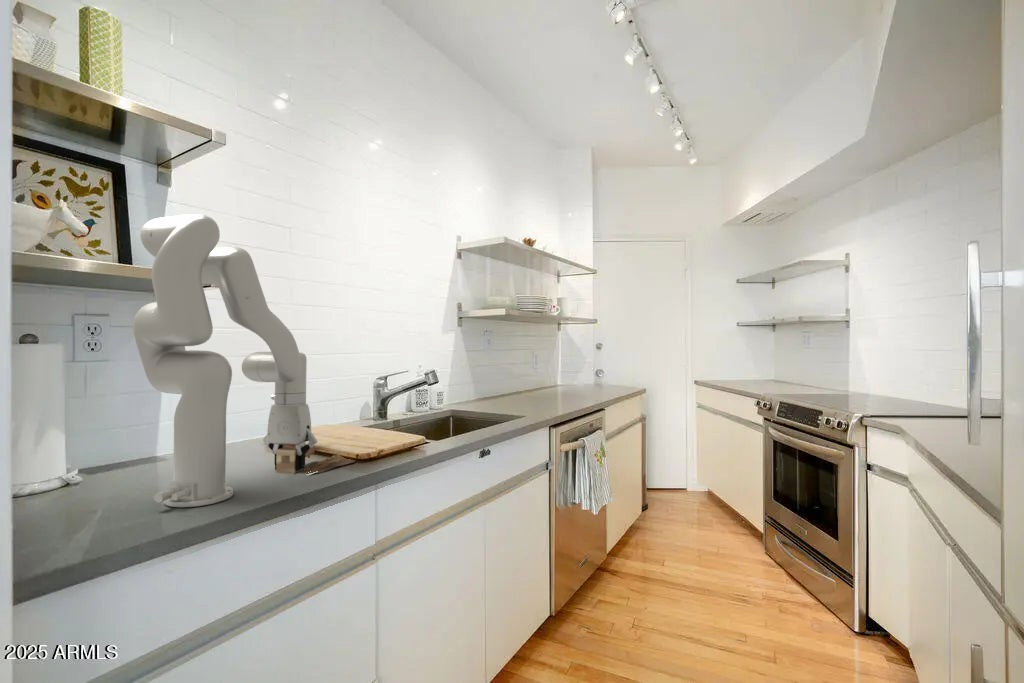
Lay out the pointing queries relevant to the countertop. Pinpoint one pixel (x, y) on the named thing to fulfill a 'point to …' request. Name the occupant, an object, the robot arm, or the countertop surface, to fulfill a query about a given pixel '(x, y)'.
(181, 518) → the countertop surface
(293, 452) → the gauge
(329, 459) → the wooden fragment
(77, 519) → the countertop surface
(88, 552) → the countertop surface
